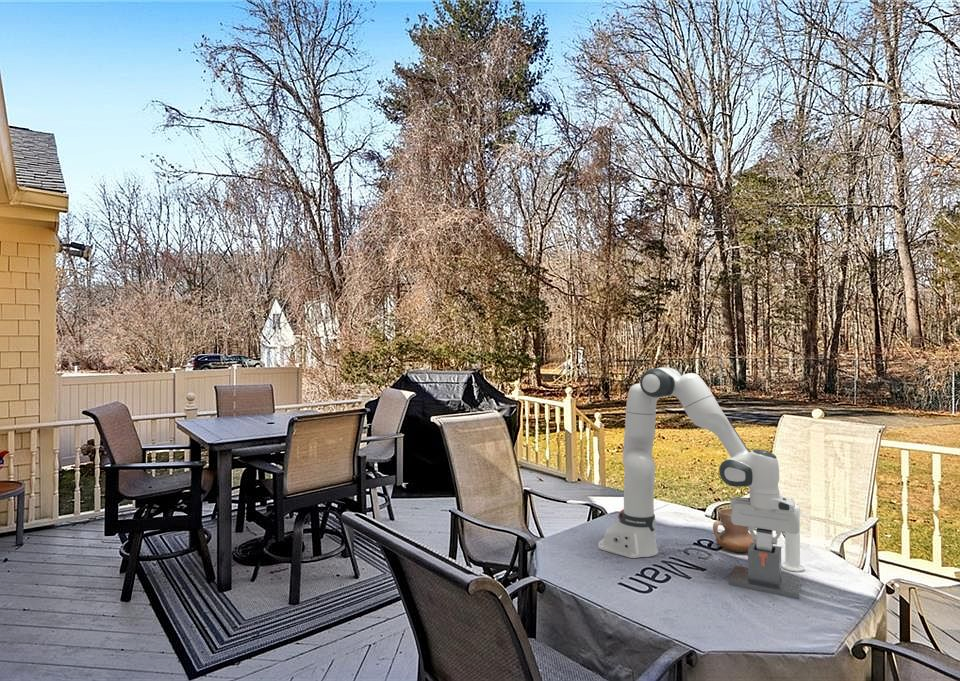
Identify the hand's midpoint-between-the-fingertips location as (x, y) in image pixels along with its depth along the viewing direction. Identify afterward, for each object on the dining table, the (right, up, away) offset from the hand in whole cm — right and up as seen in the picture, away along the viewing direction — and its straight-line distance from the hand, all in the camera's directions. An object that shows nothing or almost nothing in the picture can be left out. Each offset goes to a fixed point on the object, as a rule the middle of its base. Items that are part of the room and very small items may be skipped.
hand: (764, 542), depth 187 cm
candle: (+16, -14, +12) cm, 25 cm away
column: (0, -12, 0) cm, 12 cm away
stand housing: (0, -14, 0) cm, 14 cm away
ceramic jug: (+4, -14, +32) cm, 35 cm away
